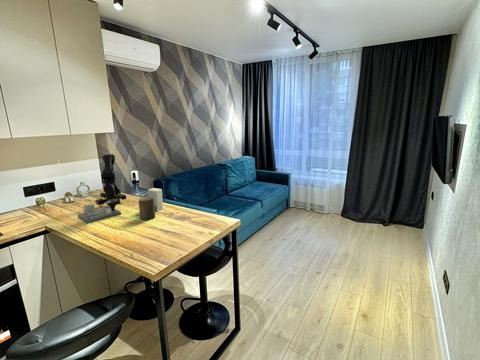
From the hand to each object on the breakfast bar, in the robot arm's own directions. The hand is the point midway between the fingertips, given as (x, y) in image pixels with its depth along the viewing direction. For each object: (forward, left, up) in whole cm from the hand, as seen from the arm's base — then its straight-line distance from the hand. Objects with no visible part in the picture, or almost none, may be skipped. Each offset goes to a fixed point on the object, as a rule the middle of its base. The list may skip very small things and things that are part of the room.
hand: (112, 211), depth 182 cm
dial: (+11, -12, -1) cm, 16 cm away
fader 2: (+3, 0, -1) cm, 3 cm away
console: (+7, -6, -3) cm, 9 cm away
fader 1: (+2, -7, -1) cm, 7 cm away
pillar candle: (-13, +23, -3) cm, 27 cm away
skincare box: (-25, +13, -3) cm, 29 cm away
